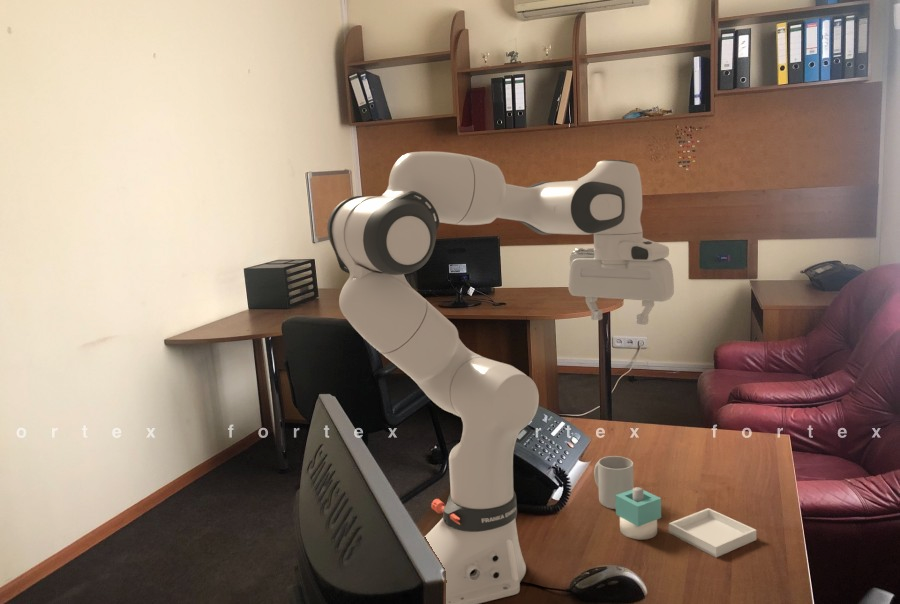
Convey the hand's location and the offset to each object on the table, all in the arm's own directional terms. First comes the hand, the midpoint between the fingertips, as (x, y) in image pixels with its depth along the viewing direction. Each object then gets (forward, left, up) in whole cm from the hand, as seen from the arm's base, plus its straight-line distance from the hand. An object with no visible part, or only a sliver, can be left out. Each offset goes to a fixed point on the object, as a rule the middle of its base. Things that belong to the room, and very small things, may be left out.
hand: (619, 321), depth 130 cm
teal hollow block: (+1, -3, -38) cm, 38 cm away
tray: (+10, -13, -41) cm, 44 cm away
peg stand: (+1, -3, -41) cm, 41 cm away
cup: (+6, +10, -41) cm, 43 cm away
